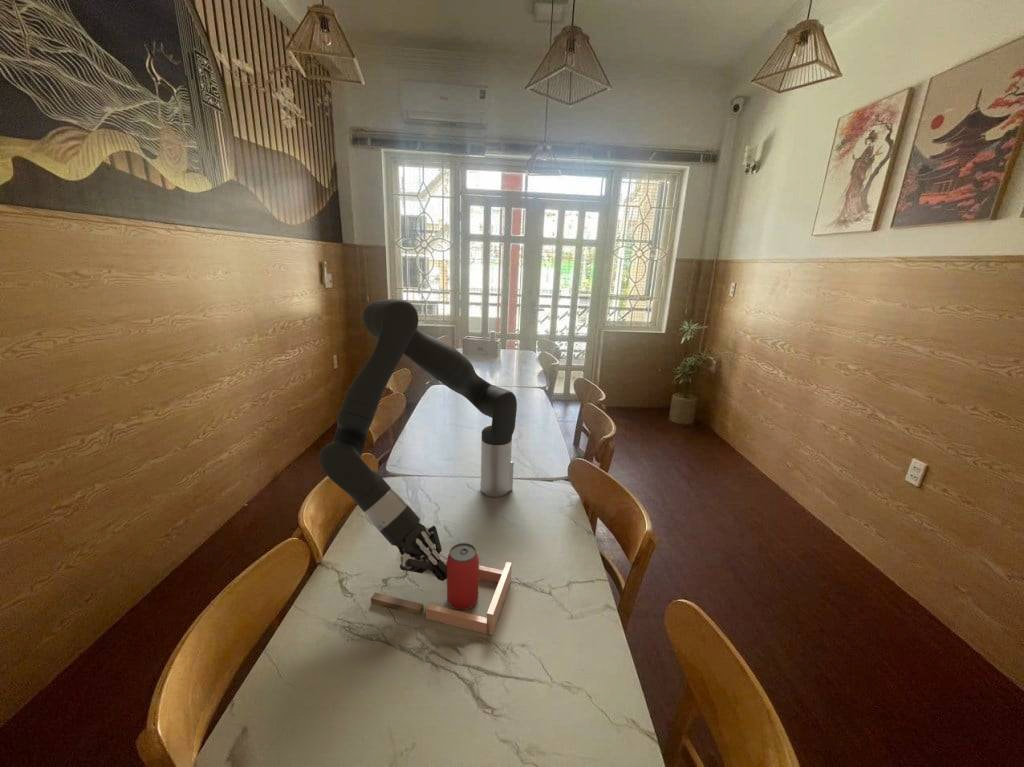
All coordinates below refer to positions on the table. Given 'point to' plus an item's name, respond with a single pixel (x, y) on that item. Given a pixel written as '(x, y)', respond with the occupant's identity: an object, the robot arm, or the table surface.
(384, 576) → the table surface
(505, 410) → the robot arm
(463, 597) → the beer can
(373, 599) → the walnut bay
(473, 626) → the terracotta bay
